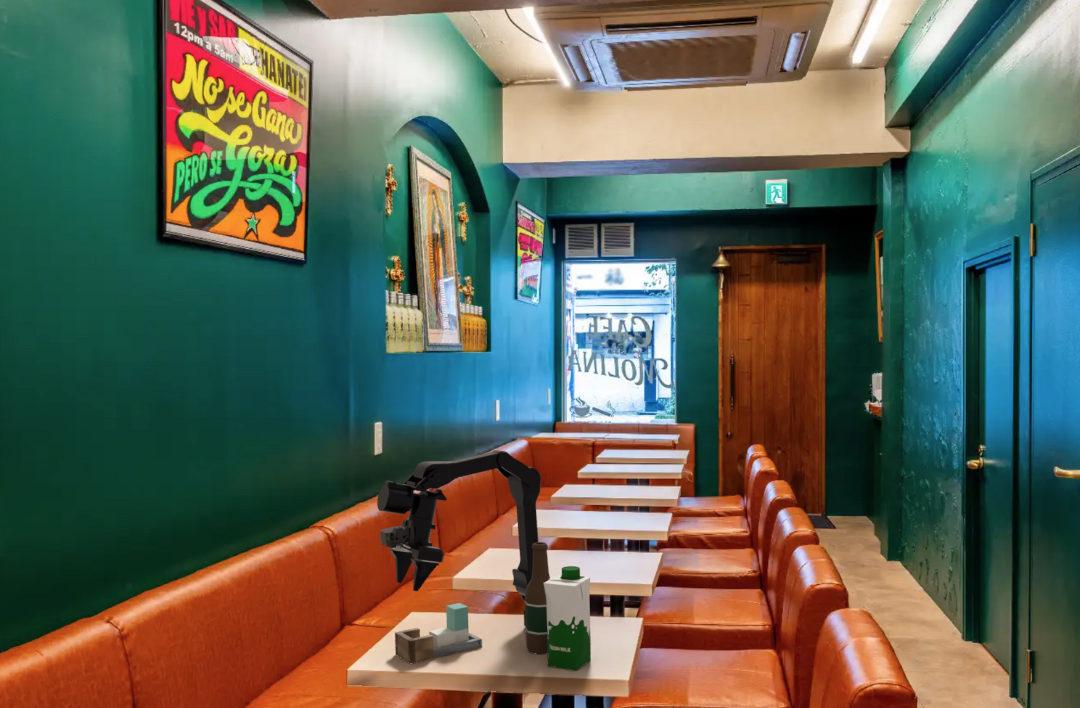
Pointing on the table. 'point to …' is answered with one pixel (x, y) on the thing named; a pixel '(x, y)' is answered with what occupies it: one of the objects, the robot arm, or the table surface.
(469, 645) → the rails
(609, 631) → the table surface
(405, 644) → the socket
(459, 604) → the teal block
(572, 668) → the milk carton
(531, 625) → the beer bottle
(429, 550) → the robot arm
